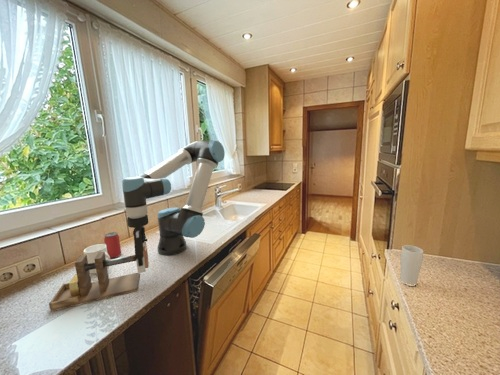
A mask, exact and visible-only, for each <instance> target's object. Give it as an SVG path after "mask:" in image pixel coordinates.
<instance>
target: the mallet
mask: <svg viewBox="0 0 500 375" xmlns="http://www.w3.org/2000/svg"><path fill="white" fill-rule="evenodd" d="M143 255H144V260H145V268H146V269H149V266H150V265H149V264H150V261H149V253H148V246H147V245H146V246H144V247H143ZM134 257H135V254H134V255H133V254H132V255H129V256H127V255H126V256H123V257H122V256H121V257H118V258H117V257H115V258H110V260H109V259H108V260H106V261H103V267H107V266H109V267H112V266H116V265H122V264H127V263H132V262H136V259H134ZM84 268H85V271H87V270H92V269H96V266H95V263H89V264H85V267H84Z"/></svg>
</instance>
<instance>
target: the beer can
mask: <svg viewBox="0 0 500 375" xmlns="http://www.w3.org/2000/svg"><path fill="white" fill-rule="evenodd" d="M103 241H104V244H105V245H106V247H107V253H108V255H109V256H110V259H116V258H117V257H118V258H119V256H120V255H121V254H122V248H121V242H120V241H121V240H120V236H119V235H118V232H116V231H114V232H109V233H106V234H104V238H103Z"/></svg>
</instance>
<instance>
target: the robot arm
mask: <svg viewBox="0 0 500 375" xmlns="http://www.w3.org/2000/svg"><path fill="white" fill-rule="evenodd" d="M225 154H226V152H225V148H224V146H223V144H222V142H220V141H219V140H213V139H212V140H198V141H197V140H196V141H193V142H191V143H189V144H187V145H185V146H184V147H182V148H180V149H178V151H177V153H175V154H173V155H172V156H170V157H168V158H167V159H166V160H164V161H162V162H160V163H158V164H157V165H155V166H154V167H152V168H150V169H148V170H147V171H145V172H143V173H142V174H140V175H138V176H131V177H125V178H123V180H122V181H121V182H122V192H123V200H124V207H125V208H123V211H124V212H126V214H125V215H126V217H127V218H126V222H127V227H128V228H130V229H131V228H133V231H132V234H133V240H134V241H133V242H134V255H135V257H134V259H136V261H135V262H136V267H137V269H136V270H137V273H140V274H141V273H146V272H147V270H146V269H147V268H145V260H144V255H143V247H144V246H147V242H148V238H147V237H146V231H145V230H146V228H145V226H147V225H148V224H149V215H148V206H147V205H148V204H147V200H148V199H152V198H157V197H161V196H165V195H168V194H170V192H171V191H172V184H171V181H170V180H169V179H168V177H169V176H171V175H172V174H174V173H175V172H176V171H178V170H179V169H181V168H183V167H184V166H185V165H191V164H192V163H195V162H197V167H196V170H195V173H194V176H193V180H192V182H191V187H190V189H189V193H188V195H187V198H186V201H185V205H184V206H182V207H177V206H176V207H174V206H173V207H168V208H164V209H161V210H159V211H158V213H157V221H158V222H157V223H158V230H159V231H158V232H159V241H158V245H157V252H158V254H159V255H163V256H171V255H176V254H179V253H181V252H184V251H185V250H186V249H187V242H186V241H187V240H186V239H185V238H191V239H193V238H197V237H198V236H199V235H201V234H202V232H203V231H204V229H205V226H206V221H205V218H204V217H203V215H204V212H203V211H202V209H203V206H204V203H205V202H204V201H205V198H206V195H207V192H208V188H209V185H210V182H211V179H212V175H213V171H214V170H215V168H217V167H218V164H219V163H220V162H222V161H224V159H225V156H226V155H225Z"/></svg>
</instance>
